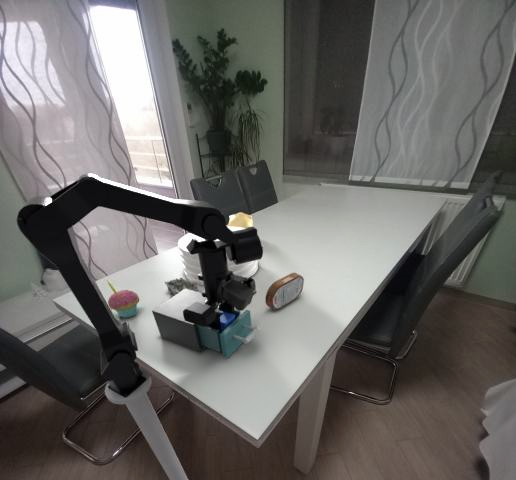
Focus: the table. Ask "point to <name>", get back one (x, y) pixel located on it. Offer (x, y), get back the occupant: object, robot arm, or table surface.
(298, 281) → the tin
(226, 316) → the blue toy brick
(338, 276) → the table surface
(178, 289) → the egg carton
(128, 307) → the cupcake
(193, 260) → the plate stack
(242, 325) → the drawer
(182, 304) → the cabinet
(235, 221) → the sculpture
